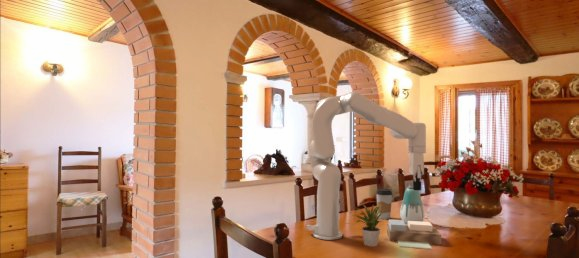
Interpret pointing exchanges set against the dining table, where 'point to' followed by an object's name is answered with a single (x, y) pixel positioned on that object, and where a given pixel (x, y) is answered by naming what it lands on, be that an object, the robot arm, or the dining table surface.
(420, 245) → the mat
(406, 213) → the vase
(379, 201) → the coffee cup
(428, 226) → the cream block
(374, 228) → the house plant
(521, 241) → the dining table surface
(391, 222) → the gray rectangular block
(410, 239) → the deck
